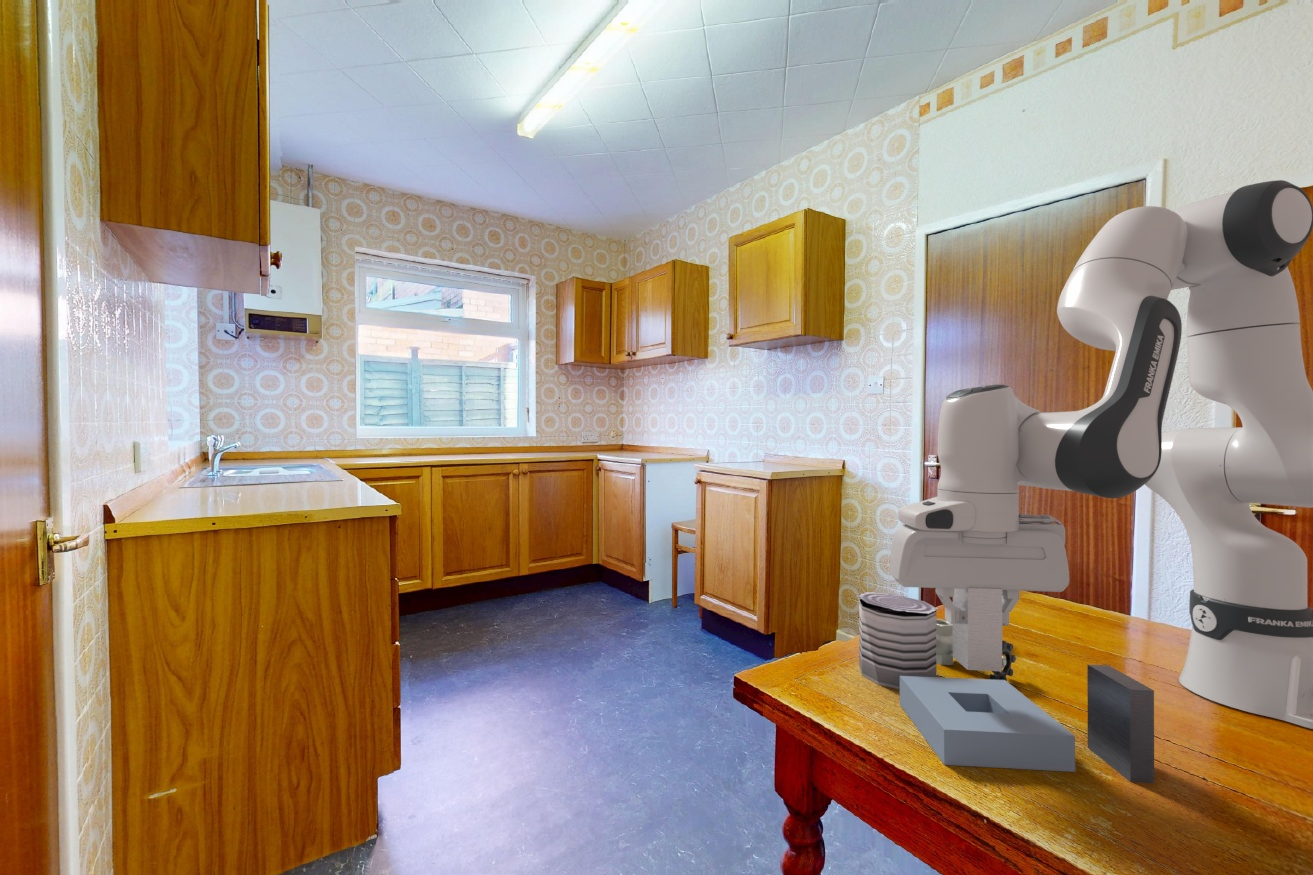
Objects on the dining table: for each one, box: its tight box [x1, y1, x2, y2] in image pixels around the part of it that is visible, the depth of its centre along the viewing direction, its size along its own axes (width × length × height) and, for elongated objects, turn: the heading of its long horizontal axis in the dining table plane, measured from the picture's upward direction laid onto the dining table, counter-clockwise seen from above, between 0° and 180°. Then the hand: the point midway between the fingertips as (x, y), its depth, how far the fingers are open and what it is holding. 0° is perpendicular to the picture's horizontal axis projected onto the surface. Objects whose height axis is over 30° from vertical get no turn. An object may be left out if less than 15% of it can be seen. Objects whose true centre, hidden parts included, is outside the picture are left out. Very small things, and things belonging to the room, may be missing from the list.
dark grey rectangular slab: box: [1086, 664, 1155, 784], centre depth 61 cm, size 2×6×10 cm, turn 175°
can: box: [856, 591, 940, 691], centre depth 85 cm, size 11×11×12 cm
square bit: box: [952, 587, 1003, 672], centre depth 67 cm, size 4×4×10 cm
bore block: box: [899, 676, 1076, 773], centre depth 67 cm, size 14×14×4 cm
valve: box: [936, 618, 1017, 682], centre depth 86 cm, size 7×7×12 cm
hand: (976, 623), depth 67 cm, fingers closed on square bit, 4 cm apart
